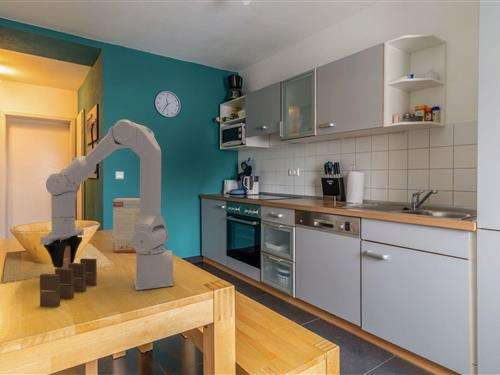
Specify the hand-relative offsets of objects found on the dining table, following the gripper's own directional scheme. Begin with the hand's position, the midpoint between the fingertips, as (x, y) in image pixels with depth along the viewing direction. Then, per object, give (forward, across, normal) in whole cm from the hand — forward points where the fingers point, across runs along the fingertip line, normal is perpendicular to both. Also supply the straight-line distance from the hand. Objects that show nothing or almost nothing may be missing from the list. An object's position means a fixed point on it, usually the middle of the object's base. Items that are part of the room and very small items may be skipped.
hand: (64, 264), depth 86 cm
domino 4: (+4, +8, +10) cm, 14 cm away
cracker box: (+4, -34, +3) cm, 35 cm away
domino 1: (+4, +17, +10) cm, 20 cm away
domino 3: (+4, +13, +10) cm, 17 cm away
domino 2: (+2, 0, 0) cm, 2 cm away
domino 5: (+4, +4, +10) cm, 11 cm away
